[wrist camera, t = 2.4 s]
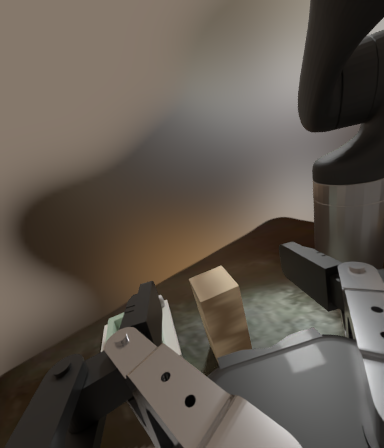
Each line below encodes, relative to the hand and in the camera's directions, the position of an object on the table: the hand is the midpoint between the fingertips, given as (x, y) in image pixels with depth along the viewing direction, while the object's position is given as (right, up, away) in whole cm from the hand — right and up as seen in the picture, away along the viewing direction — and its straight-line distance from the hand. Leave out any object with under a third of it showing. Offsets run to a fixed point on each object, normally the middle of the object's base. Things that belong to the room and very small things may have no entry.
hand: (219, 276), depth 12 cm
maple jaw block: (+4, -14, +15) cm, 21 cm away
